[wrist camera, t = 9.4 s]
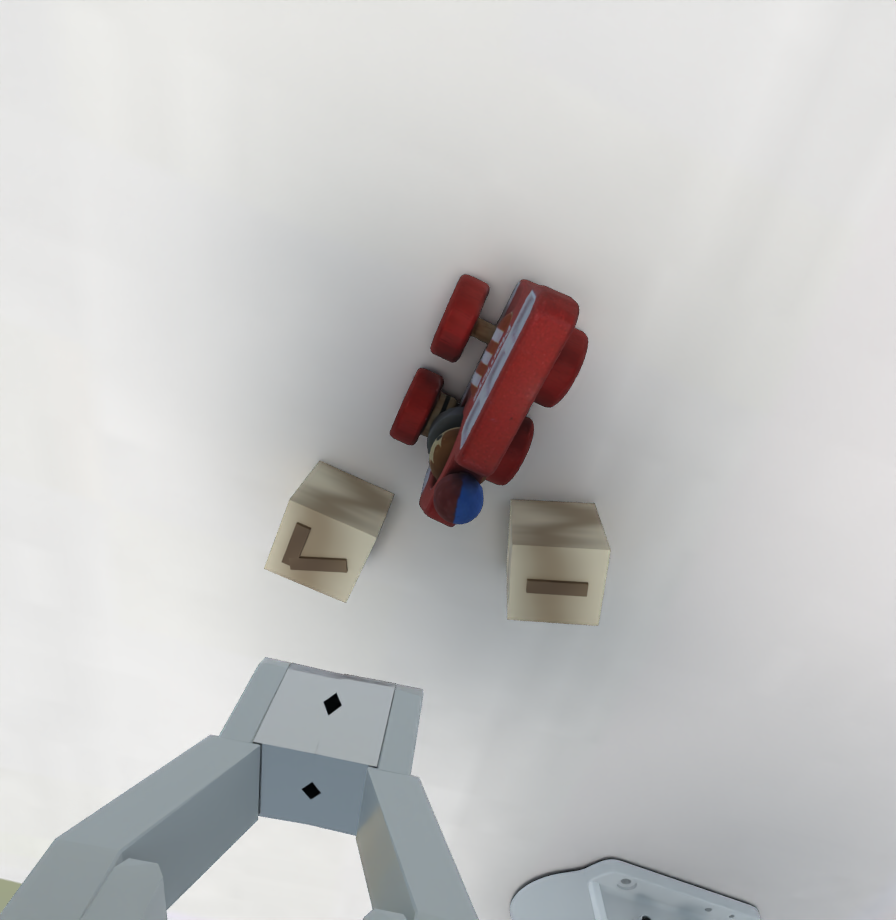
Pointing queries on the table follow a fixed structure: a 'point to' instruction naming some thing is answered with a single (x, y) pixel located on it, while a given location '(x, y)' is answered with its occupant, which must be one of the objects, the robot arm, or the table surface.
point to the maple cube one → (556, 562)
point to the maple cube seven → (328, 531)
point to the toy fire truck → (489, 392)
